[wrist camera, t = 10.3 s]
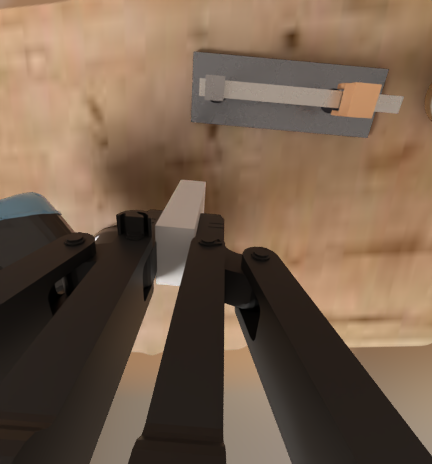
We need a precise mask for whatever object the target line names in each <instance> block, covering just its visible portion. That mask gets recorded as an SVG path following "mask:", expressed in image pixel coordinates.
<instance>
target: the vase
mask: <svg viewBox="0 0 432 464" xmlns="http://www.w3.org/2000/svg"><path fill="white" fill-rule="evenodd" d="M425 110H426V114H427V116H428V118H429V119H430V120H431V121H432V83H431V84H430V86H429V88H428V90H427V93H426V97H425Z"/></svg>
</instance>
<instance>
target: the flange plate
mask: <svg viewBox="0 0 432 464" xmlns="http://www.w3.org/2000/svg"><path fill="white" fill-rule="evenodd" d="M388 71H389V69H380V68H369V67H358V66H347V65H336V64H325V63H314V62H303V61H292V60H281V59H270V58H259V57H248V56H237V55H226V54H215V53H204V52H194V56H193V83H192V110H191V122H196V123H207V124H219V125H230V126H241V127H252V128H263V129H275V130H286V131H297V132H308V133H319V134H331V135H342V136H353V137H364V138H368V134H369V131H370V128H371V125H372V122H373V119H374V115H375V112H374V113H373V116H372V119H371V118H355V117H344V116H334V115H331V112H332V110H335V111H339V108H329V107H317V106H306V105H295V104H284V103H273V102H262V101H251V100H240V99H229V98H224V99H223V101H213V100H205V96H199V84H200V78H205V79H206V74H207V75H218V76H225V80H227V81H238V82H249V83H260V84H271V85H282V86H293V87H305V88H316V89H327V90H338V91H344V90H343V89H337V87H338V84H341V83H354V82H359V83H371V84H382V87H381V90H380V94H381V93H382V90H383V87H384V84H385V80H386V77H387V74H388Z"/></svg>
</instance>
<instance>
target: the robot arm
mask: <svg viewBox="0 0 432 464" xmlns="http://www.w3.org/2000/svg"><path fill="white" fill-rule="evenodd" d="M205 189H206V182H203V181H192V180H180V182H179V184H178V186H177V187H176V189H175V191H174V193H173V195H172V196H171V198H170V200H169V202H168V203H167V205H166V207H165V209H164V211H162V210H149V211H147V212H145V211H140V210H130V211H124V212H121V213H119V214H117V215H116V219H117V227H110V228H106V229H103V230H101V231H99V232H98V233H96V234H95V235H94V236H93V235H90V234H88V233H82V232H78V233H77V232H76V233H75V232H74V231H73V229H72V228H71V227H70V226H69V225H68V223H67V222H66V221H65V220H64V218H63V217H62V216H61V215H62V214H61V213H60V212H59V211H57V210H56V209H55V208H54V207H53V206H52V205H51V204H50V203H49V202H48V200H47V199H46V198H45V197H44V196H42V195H40V194H38V193H33V192H29V193H22V194H18V195H14V196H11V197H8V198H5V199H2V200H0V464H89V463H90V460H91V458H92V455H93V452H94V450H95V447H96V444H97V442H98V439H99V436H100V434H101V431H102V428H103V426H104V423H105V420H106V417H107V415H108V412H109V409H110V407H111V404H112V401H113V399H114V396H115V393H116V391H117V388H118V385H119V383H120V380H121V377H122V374H123V372H124V369H125V366H126V364H127V361H128V358H129V356H130V353H131V350H132V348H133V345H134V342H135V340H136V337H137V334H138V332H139V329H140V326H141V324H142V321H143V318H144V315H145V313H146V310H147V307H148V305H149V302H150V299H151V297H152V294H153V290H154V284H153V281H154V278H155V276H156V284H162V285H174V286H180V288H179V292H178V296H177V300H176V304H175V308H174V312H173V316H172V320H171V324H170V328H169V332H168V335H167V339H166V343H165V347H164V351H163V355H162V360H161V363H160V368H159V372H158V375H157V379H156V383H155V387H154V391H153V395H152V399H151V403H150V407H149V411H148V415H147V419H146V423H145V427H144V430H143V433H142V435H141V436H140V437H139V438H138V439H137V440H136V442H135V445H134V447H133V449H132V452H131V456H130V459H129V462H128V464H226V451H225V445H224V441H223V391H224V387H223V386H224V303H226V304H229V305H232V306H235V313H236V316H237V318H238V321H239V324H240V326H241V329H242V332H243V334H244V337H245V340H246V342H247V345H248V348H249V350H250V353H251V356H252V358H253V361H254V364H255V366H256V369H257V372H258V374H259V377H260V380H261V382H262V385H263V388H264V390H265V393H266V396H267V398H268V401H269V404H270V406H271V409H272V412H273V414H274V417H275V420H276V422H277V425H278V428H279V430H280V433H281V436H282V438H283V441H284V444H285V446H286V449H287V452H288V455H289V457H290V460H291V462H292V464H432V456H431V454H430V453H429V452H428V451H427V449H426V448H425V447H424V445H423V444H422V443H421V442H420V440H419V439H418V437H417V436H416V435H415V434H414V432H413V431H412V430H411V428H410V427H409V426H408V424H407V423H406V422H405V421H404V419H403V418H402V417H401V415H400V414H399V413H398V411H397V410H396V409H395V408H394V407H393V405H392V404H391V402H390V401H389V400H388V399H387V397H386V396H385V395H384V393H383V392H382V391H381V389H380V388H379V387H378V385H377V384H376V383H375V382H374V380H373V379H372V378H371V376H370V375H369V374H368V372H367V371H366V370H365V369H364V367H363V366H362V365H361V363H360V362H359V361H358V359H357V358H356V357H355V356H354V354H353V353H352V352H351V351H350V349H349V348H348V346H347V345H346V344H345V343H344V341H343V340H342V339H341V337H340V336H339V335H338V333H337V332H336V331H335V329H334V328H333V327H332V326H331V324H330V323H329V322H328V320H327V319H326V318H325V316H324V315H323V314H322V313H321V311H320V310H319V309H318V307H317V306H316V305H315V303H314V302H313V301H312V300H311V298H310V297H309V296H308V294H307V293H306V292H305V290H304V289H303V288H302V287H301V285H300V284H299V283H298V281H297V280H296V279H295V277H294V276H293V275H292V274H291V272H290V271H289V270H288V268H287V267H286V266H285V264H284V263H283V262H282V261H281V259H280V258H279V257H278V255H277V254H276V253H274V252H273V251H271V250H269V249H267V248H263V247H250V248H247V249H245V250H244V252H243V254H238V253H235V252H233V251H231V250H229V249H228V248H226V246H225V243H224V219H223V217H222V216H221V215H216V214H205V213H204V204H205Z"/></svg>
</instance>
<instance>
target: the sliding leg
mask: <svg viewBox="0 0 432 464" xmlns="http://www.w3.org/2000/svg"><path fill="white" fill-rule="evenodd" d="M381 87H382V84H371V83H359V82H354V83H341V84H338V87H337V89H343V90H344V92H343V96H342V100H341V104H340V108H339V111H335V110H332V112H331V115H334V116H344V117H355V118H371V119H372V116H373V113H374V110H375V106H376V103H377V100H378V97H379V94H380V90H381Z"/></svg>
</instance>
